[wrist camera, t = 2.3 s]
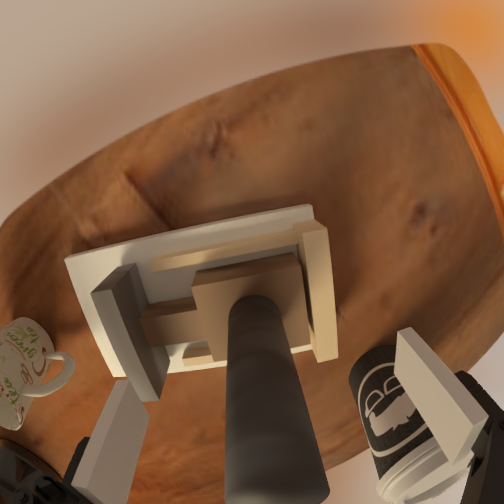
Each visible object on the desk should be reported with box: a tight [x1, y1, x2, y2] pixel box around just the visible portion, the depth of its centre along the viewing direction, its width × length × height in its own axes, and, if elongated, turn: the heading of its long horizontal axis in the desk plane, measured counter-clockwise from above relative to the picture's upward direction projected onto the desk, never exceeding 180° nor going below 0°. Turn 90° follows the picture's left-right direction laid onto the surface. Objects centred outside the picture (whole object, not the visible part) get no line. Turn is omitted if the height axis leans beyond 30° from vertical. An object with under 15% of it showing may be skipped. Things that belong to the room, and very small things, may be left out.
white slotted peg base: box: [64, 203, 338, 377], centre depth 22 cm, size 20×12×4 cm, turn 101°
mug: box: [0, 317, 76, 430], centre depth 20 cm, size 8×13×10 cm, turn 98°
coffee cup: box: [349, 345, 474, 504], centre depth 20 cm, size 10×10×15 cm
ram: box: [90, 252, 330, 504], centre depth 15 cm, size 13×9×16 cm
